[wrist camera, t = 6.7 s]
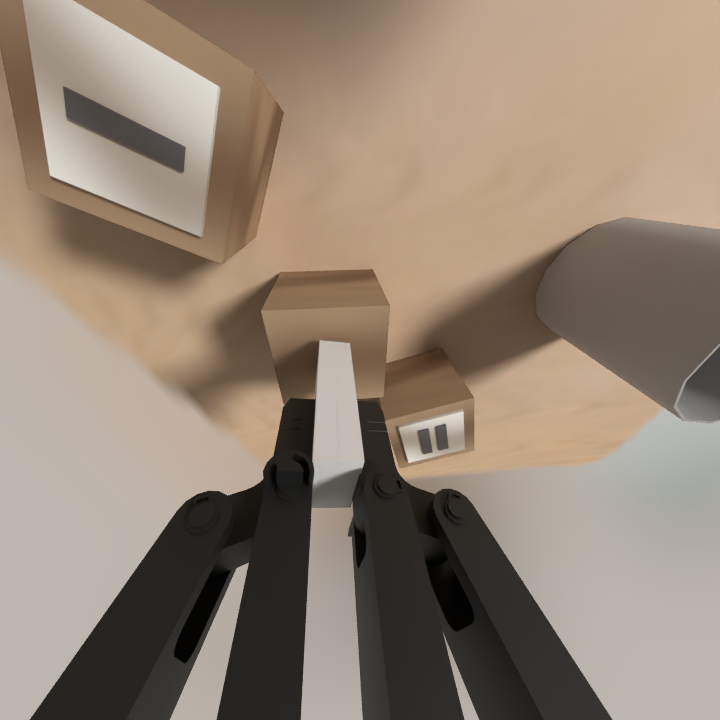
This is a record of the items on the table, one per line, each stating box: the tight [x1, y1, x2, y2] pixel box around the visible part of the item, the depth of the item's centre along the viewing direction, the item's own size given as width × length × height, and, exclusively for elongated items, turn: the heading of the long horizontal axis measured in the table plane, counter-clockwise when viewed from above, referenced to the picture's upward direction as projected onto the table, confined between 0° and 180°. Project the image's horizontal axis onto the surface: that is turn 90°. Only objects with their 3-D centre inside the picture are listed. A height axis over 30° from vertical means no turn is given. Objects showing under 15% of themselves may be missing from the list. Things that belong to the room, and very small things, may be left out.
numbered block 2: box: [379, 348, 474, 468], centre depth 21 cm, size 6×6×6 cm
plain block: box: [261, 269, 390, 404], centre depth 16 cm, size 6×6×6 cm
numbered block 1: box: [0, 0, 284, 264], centre depth 10 cm, size 6×6×6 cm
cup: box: [535, 217, 720, 423], centre depth 15 cm, size 8×8×10 cm
